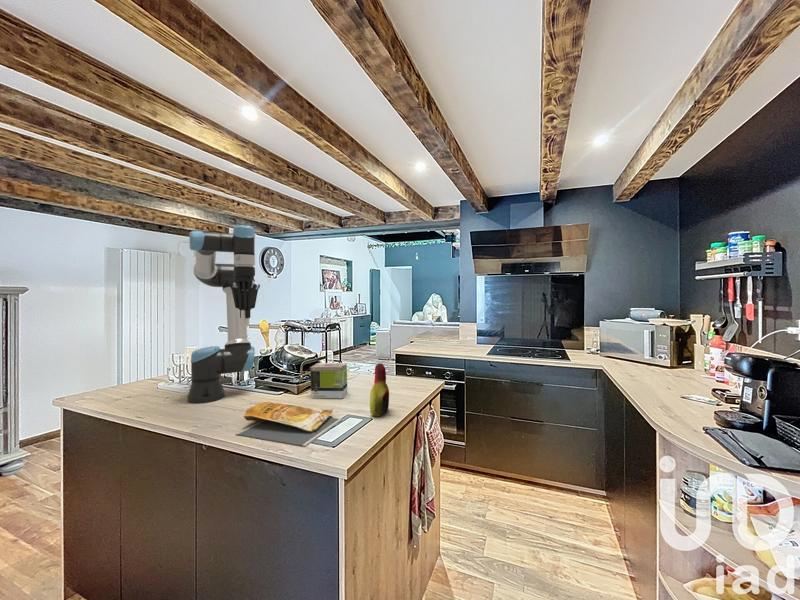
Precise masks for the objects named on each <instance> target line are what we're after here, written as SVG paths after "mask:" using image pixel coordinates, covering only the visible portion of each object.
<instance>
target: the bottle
mask: <svg viewBox="0 0 800 600" xmlns="http://www.w3.org/2000/svg"><path fill="white" fill-rule="evenodd" d="M389 403H390V389H389V386H388V384H387V372H386V366H385V365H384V364H383V363H381V362H379V363H377V364H376V365H375V367H374V382H373V385H372V388H371V389H370V394H369V412H370V414H371V415H373V416H376V417H381V416H383V415H385V414H386V413H387V412H388V410H389Z"/></svg>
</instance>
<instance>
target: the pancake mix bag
mask: <svg viewBox="0 0 800 600" xmlns="http://www.w3.org/2000/svg"><path fill="white" fill-rule="evenodd" d="M333 412H334V410H333V408H328V409H326V408H316V407H315V408H314V407H306V406H301V405H292V404H285V403H279V402H271V401H262V402H260V403H257V404H256V405H253V406H250V407H249V408H247V409H246V411H245V414H244V415H243V419H245V420H246V421H247V422H249V421H250V422H260V421H264V422H280V423H283V424H287V425H291V426H294V427H298V428H300V429H303V430H306V431H309V432H313V431H315V430H316V429H317V428H318V427H319V426H320V425H321V424H322V423H323V422H324V421H325V420H326V419H327V418H328V417H329V418H330V416H331V415H332V413H333Z"/></svg>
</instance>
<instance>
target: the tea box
mask: <svg viewBox="0 0 800 600" xmlns="http://www.w3.org/2000/svg"><path fill="white" fill-rule="evenodd" d="M347 393H348V365H347V362H318V363H315V364H313V365H312V366H310V397H311V399H343V398H344V397H345V396H346V395H347Z"/></svg>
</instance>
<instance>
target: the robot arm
mask: <svg viewBox="0 0 800 600" xmlns="http://www.w3.org/2000/svg"><path fill="white" fill-rule="evenodd" d="M232 231H233V232H232V233H230V232H214V231H213V232H212V231H203V230H196V231H194V230H192V231H190V232H189V233H188V234H189V235H188V236H189V249H190V250H191V251H195V263H194V265H193V274H194V276H195V278H196V279H197V280H198V281H200V282H201V283H202V284H203V285H206V286H208V287H213V288H222V292H223V293H224V294H225V297H226V299H225V302H226V324H227V325H226V326H227V327H226V328H227V341H226V343H225V344H224V348H221V347H220V346H219V345H216V346H213V345H211V346H206V347H202V348H199V349H195V350H193V351H192V352H191V355H190V357H191V358H190V366H191V369H190V370H191V371H190V372H191V378H190V379H191V382H190V383H191V384H190V387H189V389H188V394H187V395H186V396H187V397H186V399H187V402H189V403H193V404H204V403H211V402H214V401H218V400H221V399H223V398H224V397H225V395H226V392H225V389H224V386H223V384H222V380H221V375H224V374H232V373H233V374H234V373H243V372H249V371H251V370H252V368H253V367H254V362H255V354H256V353H255V352H256V351H255V346H252V343H251V341H249V340H248V328H247V327H250V318H251V310H252V309H255V308H256V303H257V297H258V293H259V292H258V291H259V290H260V288H261V284H260V283H257V282H256V280H255V275H256V268H255V265H256V255H255V252H256V251H255V242H256V235H255V228H254V227H253V226H251V225H235V226H233V230H232ZM217 252H218V253H219V252H220V253H221V252H222V253H233V263H216V258H217Z"/></svg>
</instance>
